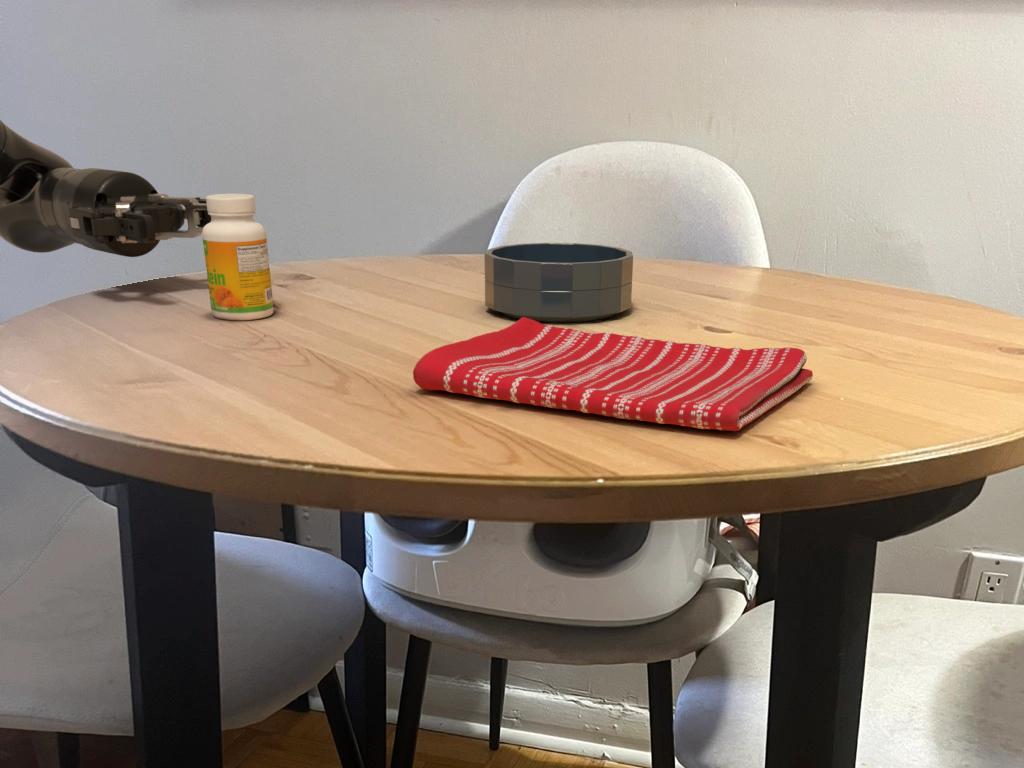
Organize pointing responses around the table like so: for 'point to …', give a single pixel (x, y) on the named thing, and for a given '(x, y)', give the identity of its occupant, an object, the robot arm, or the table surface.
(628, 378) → the dish towel
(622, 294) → the fruit bowl
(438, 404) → the table surface
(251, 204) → the supplement bottle
